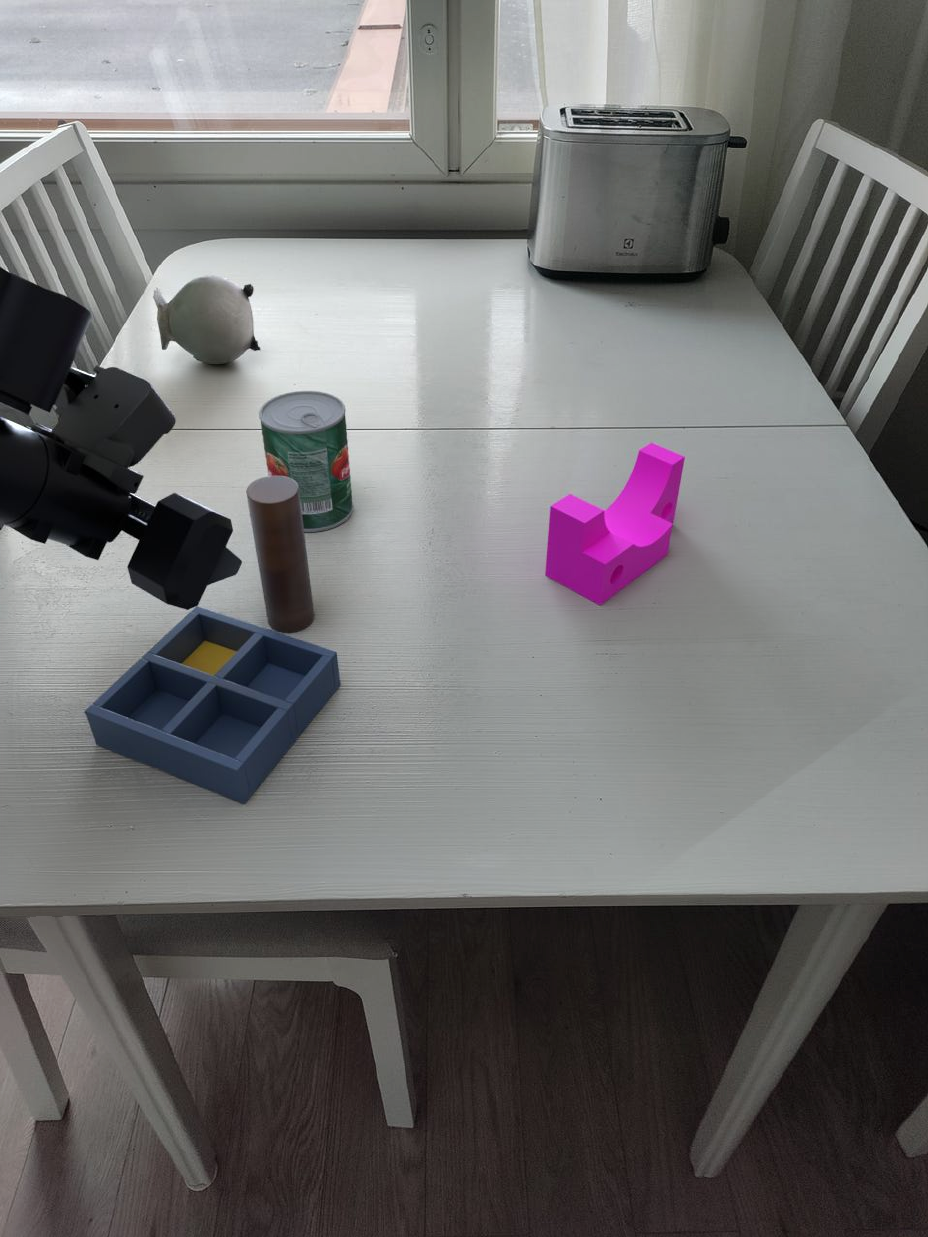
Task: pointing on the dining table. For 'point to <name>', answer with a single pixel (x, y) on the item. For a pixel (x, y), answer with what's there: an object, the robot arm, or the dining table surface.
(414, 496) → the dining table surface
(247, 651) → the grid
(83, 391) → the robot arm
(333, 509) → the canned tomato
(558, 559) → the toy block
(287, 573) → the brown wooden dowel
